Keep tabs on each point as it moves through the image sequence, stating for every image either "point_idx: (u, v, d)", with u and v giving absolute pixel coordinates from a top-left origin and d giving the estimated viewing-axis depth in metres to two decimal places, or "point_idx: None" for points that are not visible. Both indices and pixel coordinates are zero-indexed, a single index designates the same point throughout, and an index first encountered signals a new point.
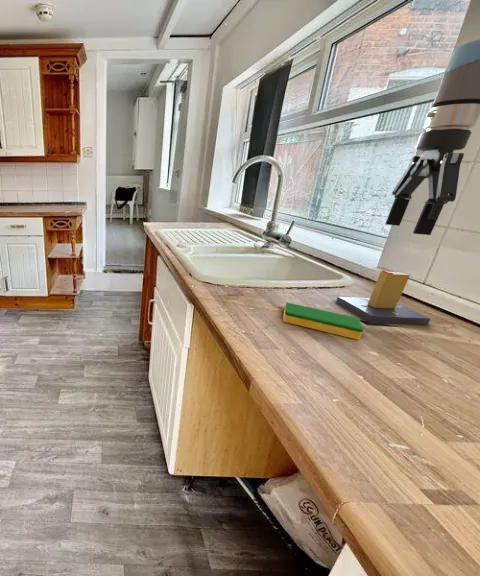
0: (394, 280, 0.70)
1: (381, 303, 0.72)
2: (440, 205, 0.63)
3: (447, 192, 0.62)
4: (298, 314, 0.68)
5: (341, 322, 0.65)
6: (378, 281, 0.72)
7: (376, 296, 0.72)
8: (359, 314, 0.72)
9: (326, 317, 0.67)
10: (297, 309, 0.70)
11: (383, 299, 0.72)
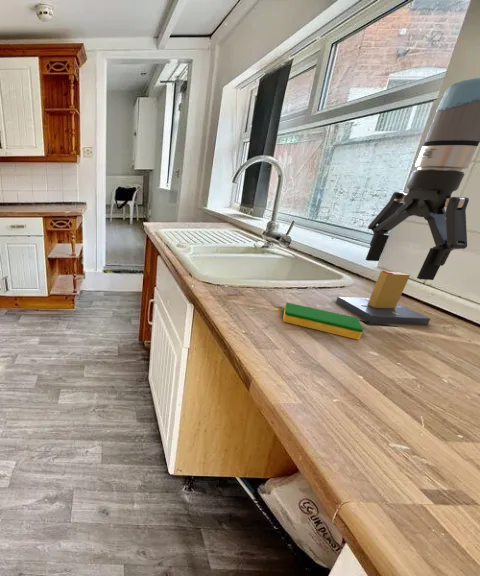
0: (394, 280, 0.70)
1: (381, 303, 0.72)
2: (448, 251, 0.60)
3: (459, 239, 0.58)
4: (298, 314, 0.68)
5: (341, 322, 0.65)
6: (378, 281, 0.72)
7: (376, 296, 0.72)
8: (359, 314, 0.72)
9: (326, 317, 0.67)
10: (297, 309, 0.70)
11: (383, 299, 0.72)
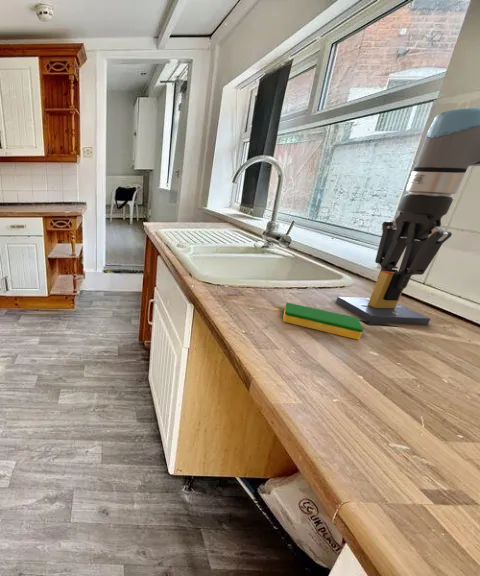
0: None
1: (381, 303, 0.72)
2: (408, 276, 0.68)
3: (420, 269, 0.65)
4: (298, 314, 0.68)
5: (341, 322, 0.65)
6: (378, 281, 0.72)
7: (377, 296, 0.72)
8: (359, 314, 0.72)
9: (326, 317, 0.67)
10: (297, 309, 0.70)
11: (383, 299, 0.72)
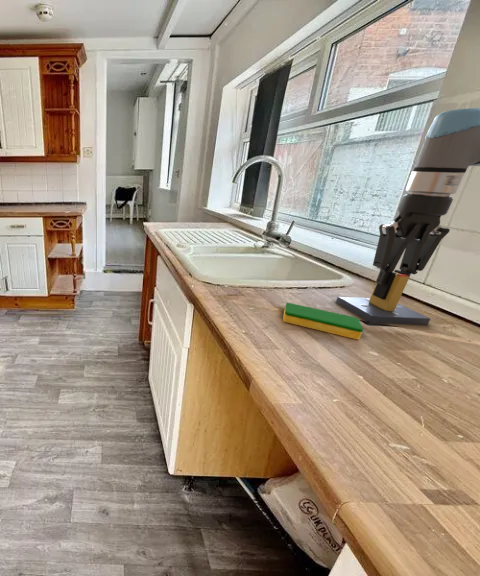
0: None
1: None
2: None
3: None
4: (298, 314, 0.68)
5: (341, 322, 0.65)
6: (398, 286, 0.69)
7: (397, 300, 0.70)
8: (359, 314, 0.72)
9: (326, 317, 0.67)
10: (297, 309, 0.70)
11: None
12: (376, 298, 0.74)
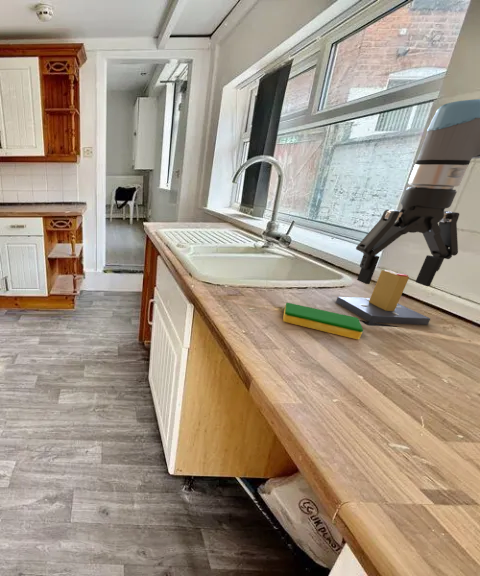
0: None
1: None
2: None
3: None
4: (298, 314, 0.68)
5: (341, 322, 0.65)
6: (398, 286, 0.69)
7: (397, 300, 0.70)
8: (359, 314, 0.72)
9: (326, 317, 0.67)
10: (297, 309, 0.70)
11: None
12: (376, 298, 0.74)
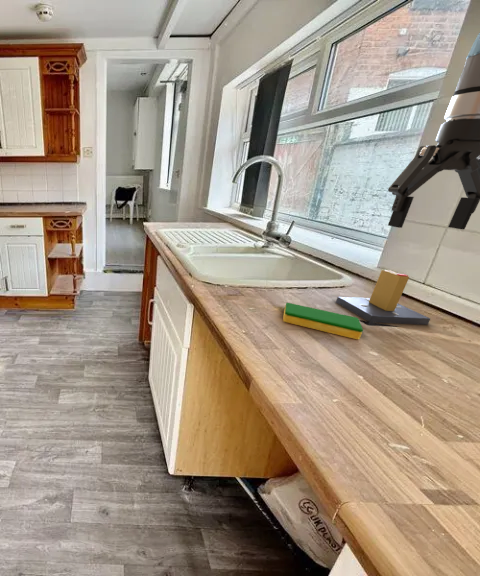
0: None
1: None
2: None
3: None
4: (298, 314, 0.68)
5: (341, 322, 0.65)
6: (398, 286, 0.69)
7: (397, 300, 0.70)
8: (359, 314, 0.72)
9: (326, 317, 0.67)
10: (297, 309, 0.70)
11: None
12: (376, 298, 0.74)
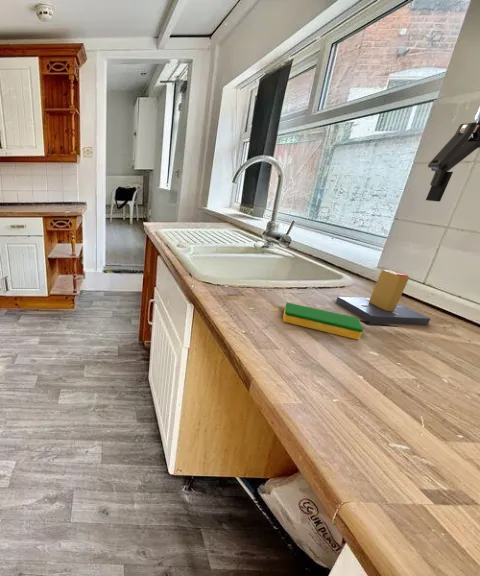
0: None
1: None
2: None
3: None
4: (298, 314, 0.68)
5: (341, 322, 0.65)
6: (398, 286, 0.69)
7: (397, 300, 0.70)
8: (359, 314, 0.72)
9: (326, 317, 0.67)
10: (297, 309, 0.70)
11: None
12: (376, 298, 0.74)
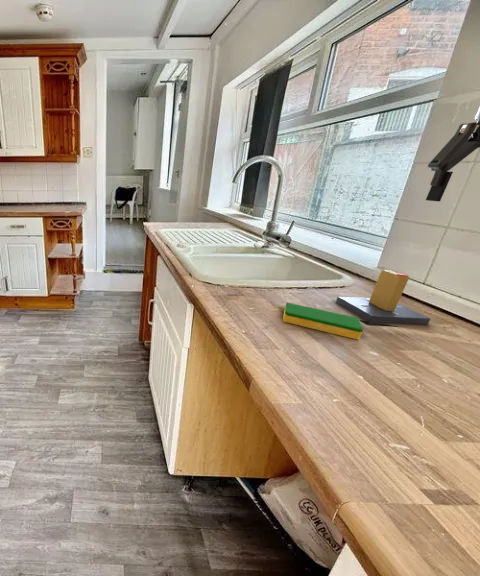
0: None
1: None
2: None
3: None
4: (298, 314, 0.68)
5: (341, 322, 0.65)
6: (398, 286, 0.69)
7: (397, 300, 0.70)
8: (359, 314, 0.72)
9: (326, 317, 0.67)
10: (297, 309, 0.70)
11: None
12: (376, 298, 0.74)
